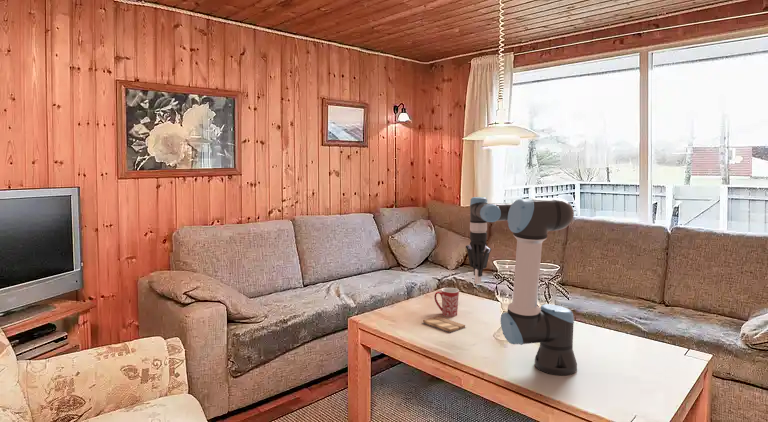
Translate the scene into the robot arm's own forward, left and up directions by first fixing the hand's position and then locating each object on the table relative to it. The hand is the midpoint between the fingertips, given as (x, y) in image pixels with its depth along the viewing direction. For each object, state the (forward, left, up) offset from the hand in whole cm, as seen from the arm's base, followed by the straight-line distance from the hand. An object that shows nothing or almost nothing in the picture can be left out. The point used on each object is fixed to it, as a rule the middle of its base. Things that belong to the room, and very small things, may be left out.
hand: (477, 283), depth 226 cm
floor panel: (+13, +9, -22) cm, 27 cm away
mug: (+24, -5, -22) cm, 33 cm away
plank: (+13, +11, -21) cm, 27 cm away
